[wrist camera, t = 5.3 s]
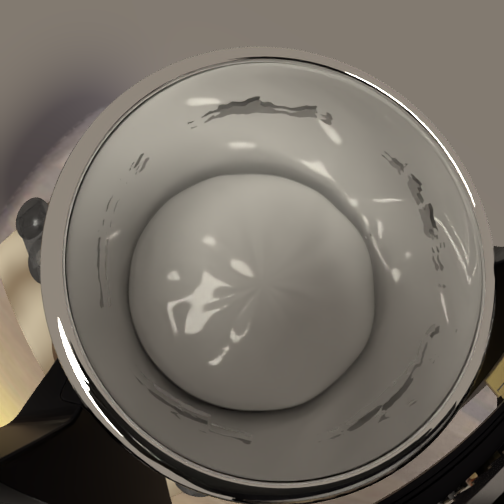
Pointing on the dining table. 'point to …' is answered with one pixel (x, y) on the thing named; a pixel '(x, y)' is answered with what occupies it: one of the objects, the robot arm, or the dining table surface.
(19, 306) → the board
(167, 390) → the beer glass
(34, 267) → the set of metal discs
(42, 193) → the dining table surface
